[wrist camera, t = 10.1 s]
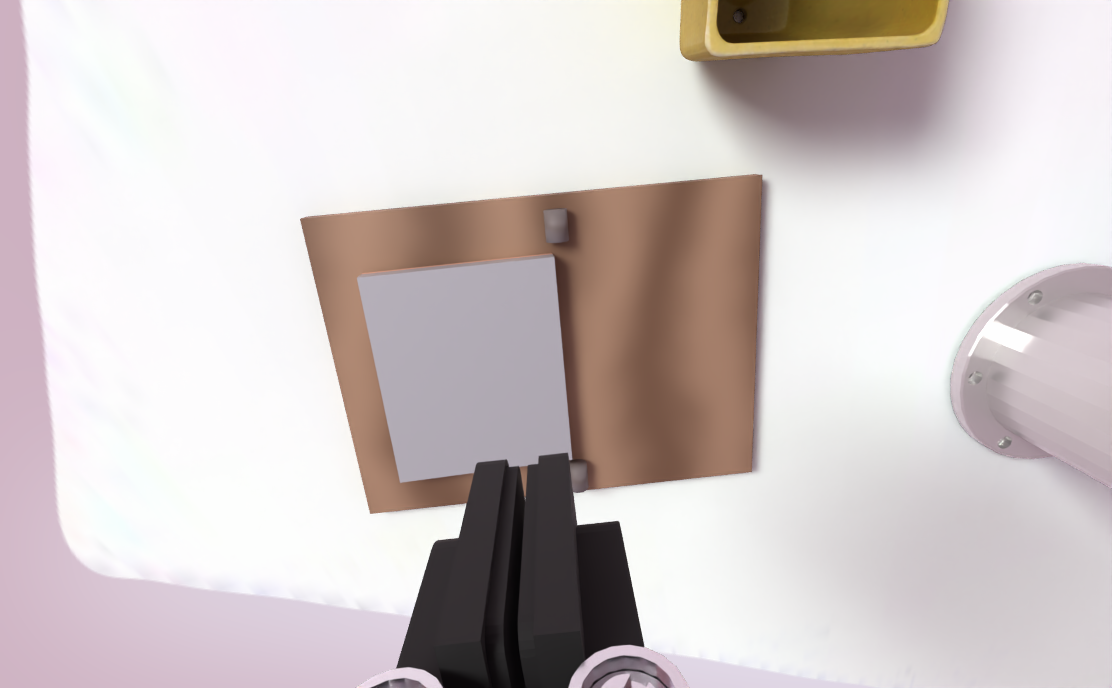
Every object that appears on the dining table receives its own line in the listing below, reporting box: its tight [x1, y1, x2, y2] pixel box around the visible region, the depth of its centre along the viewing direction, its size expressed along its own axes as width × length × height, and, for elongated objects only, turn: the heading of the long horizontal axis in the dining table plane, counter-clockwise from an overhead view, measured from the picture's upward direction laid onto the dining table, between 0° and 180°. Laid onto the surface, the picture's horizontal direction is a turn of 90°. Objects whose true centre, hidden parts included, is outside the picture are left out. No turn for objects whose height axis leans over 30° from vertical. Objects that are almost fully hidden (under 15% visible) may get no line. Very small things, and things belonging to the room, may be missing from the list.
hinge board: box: [300, 174, 762, 514], centre depth 31 cm, size 24×18×2 cm
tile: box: [357, 253, 572, 483], centre depth 30 cm, size 10×12×1 cm
